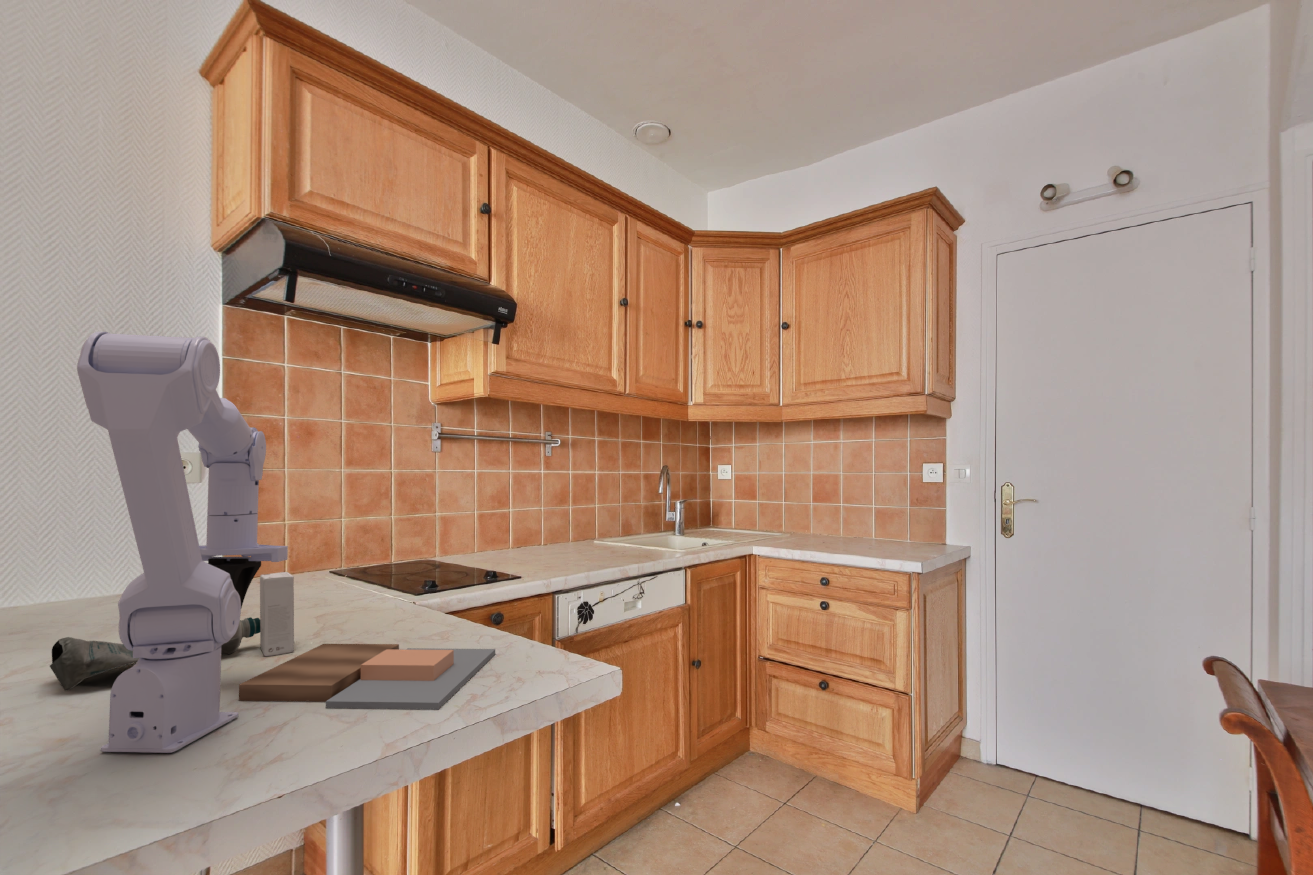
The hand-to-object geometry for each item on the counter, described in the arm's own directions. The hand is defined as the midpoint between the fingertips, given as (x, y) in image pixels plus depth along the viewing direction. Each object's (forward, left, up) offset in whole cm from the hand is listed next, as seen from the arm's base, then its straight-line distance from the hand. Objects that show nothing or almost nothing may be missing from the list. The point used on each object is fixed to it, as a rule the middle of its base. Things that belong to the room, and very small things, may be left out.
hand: (230, 614), depth 83 cm
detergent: (+8, +16, -10) cm, 20 cm away
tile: (+4, -23, -9) cm, 25 cm away
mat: (+4, -25, -9) cm, 27 cm away
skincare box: (+16, +4, -10) cm, 19 cm away
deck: (+4, -11, -9) cm, 15 cm away
